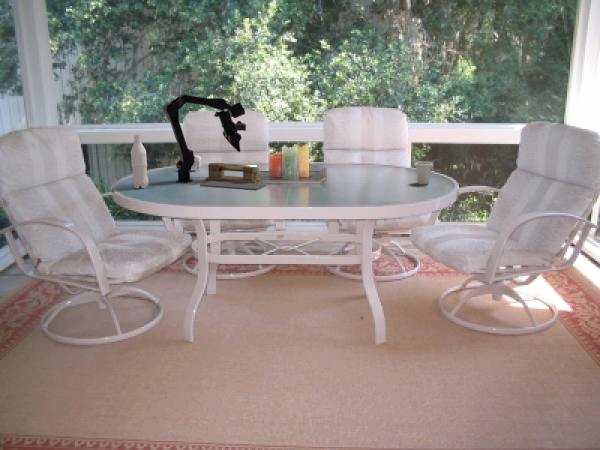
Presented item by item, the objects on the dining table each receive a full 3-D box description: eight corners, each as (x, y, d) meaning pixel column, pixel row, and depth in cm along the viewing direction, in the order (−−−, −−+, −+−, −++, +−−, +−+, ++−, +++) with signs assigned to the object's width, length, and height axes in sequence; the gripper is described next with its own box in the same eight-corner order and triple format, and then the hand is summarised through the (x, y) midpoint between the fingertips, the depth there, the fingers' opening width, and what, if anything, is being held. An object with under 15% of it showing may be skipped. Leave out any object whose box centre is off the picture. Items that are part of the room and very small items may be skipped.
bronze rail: (255, 173, 294) (255, 166, 293) (208, 170, 303) (208, 163, 302) (258, 172, 297) (258, 165, 296) (211, 169, 306) (211, 162, 305)
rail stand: (254, 184, 293) (254, 168, 291) (205, 180, 302) (204, 165, 299) (261, 180, 301) (261, 165, 299) (213, 177, 310) (213, 162, 308)
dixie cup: (431, 184, 290) (433, 164, 287) (414, 184, 292) (415, 164, 289) (431, 181, 298) (432, 161, 295) (414, 181, 300) (415, 161, 297)
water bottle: (144, 189, 282) (140, 136, 275) (130, 188, 284) (126, 136, 277) (151, 186, 289) (147, 134, 282) (137, 185, 290) (133, 134, 284)
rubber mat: (257, 190, 280) (257, 188, 280) (200, 186, 290) (200, 184, 289) (266, 185, 290) (266, 184, 290) (210, 181, 300) (210, 180, 299)
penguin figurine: (199, 155, 324) (177, 157, 325) (201, 171, 327) (180, 173, 327) (201, 153, 331) (179, 156, 331) (203, 169, 333) (182, 171, 333)
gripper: (245, 118, 296) (256, 147, 302) (237, 113, 313) (247, 141, 319) (224, 127, 294) (235, 156, 300) (217, 121, 311) (228, 148, 317)
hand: (237, 150), depth 309 cm, fingers open, 9 cm apart
